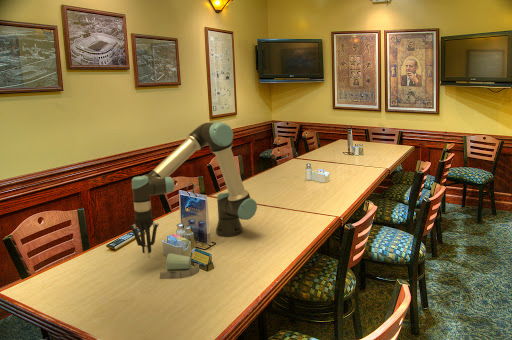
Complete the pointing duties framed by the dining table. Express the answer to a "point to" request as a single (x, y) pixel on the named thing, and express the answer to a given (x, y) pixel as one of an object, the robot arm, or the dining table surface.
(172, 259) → the cup
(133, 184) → the robot arm
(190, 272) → the split ring
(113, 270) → the dining table surface
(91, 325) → the dining table surface
